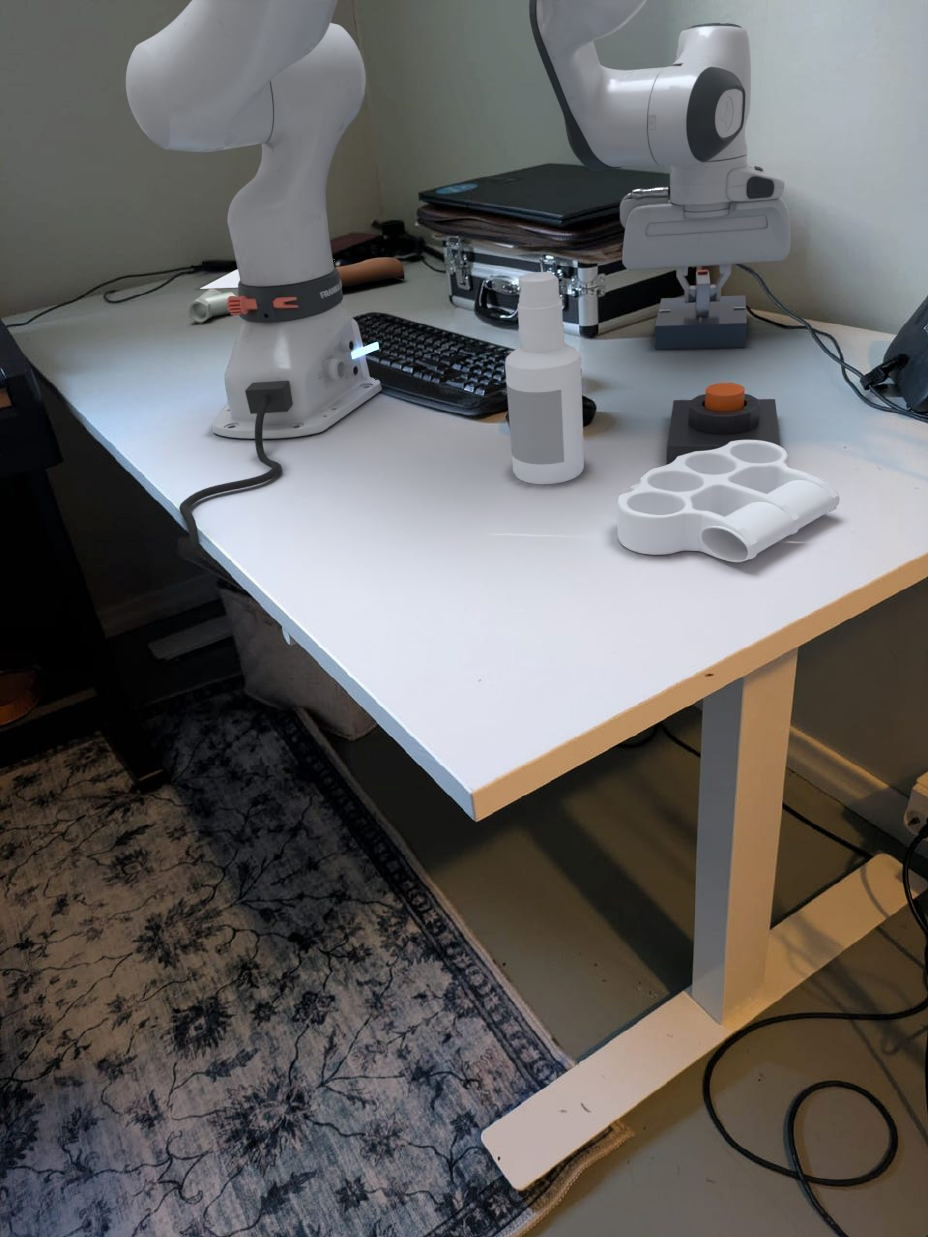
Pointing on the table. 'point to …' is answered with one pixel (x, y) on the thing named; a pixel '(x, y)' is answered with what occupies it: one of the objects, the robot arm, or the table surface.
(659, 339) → the grey flat block
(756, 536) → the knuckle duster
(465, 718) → the table surface
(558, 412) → the spray bottle
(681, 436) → the release housing
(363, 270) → the sunglasses case
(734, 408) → the release button
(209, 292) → the pipe fitting
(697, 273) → the upright grey plate
